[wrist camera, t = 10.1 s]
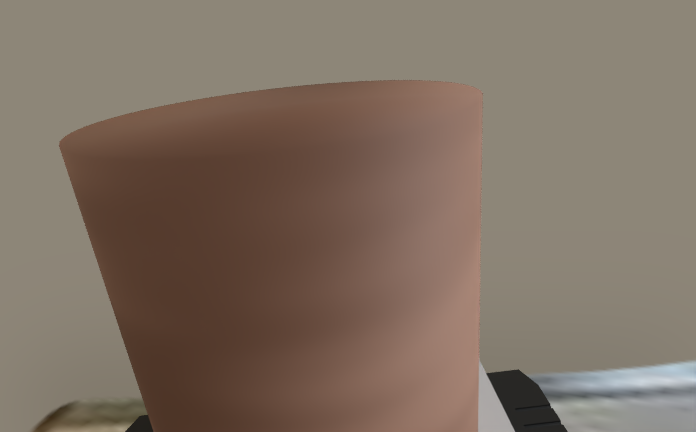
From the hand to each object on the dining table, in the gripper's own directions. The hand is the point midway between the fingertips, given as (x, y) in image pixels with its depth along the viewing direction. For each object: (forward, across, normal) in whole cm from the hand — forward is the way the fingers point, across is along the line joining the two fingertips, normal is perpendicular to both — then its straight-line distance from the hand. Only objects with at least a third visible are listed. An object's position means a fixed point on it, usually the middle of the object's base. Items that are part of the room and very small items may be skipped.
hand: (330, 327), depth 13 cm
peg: (-5, 0, -9) cm, 10 cm away
